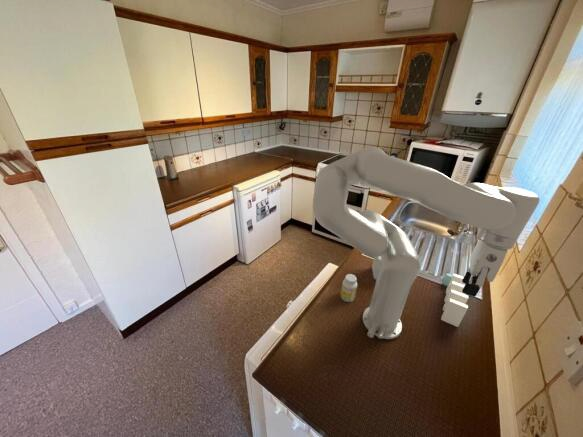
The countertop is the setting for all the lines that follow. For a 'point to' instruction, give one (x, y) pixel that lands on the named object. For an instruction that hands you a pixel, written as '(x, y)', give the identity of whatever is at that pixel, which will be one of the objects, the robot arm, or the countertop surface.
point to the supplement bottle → (349, 288)
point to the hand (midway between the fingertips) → (468, 288)
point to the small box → (376, 266)
